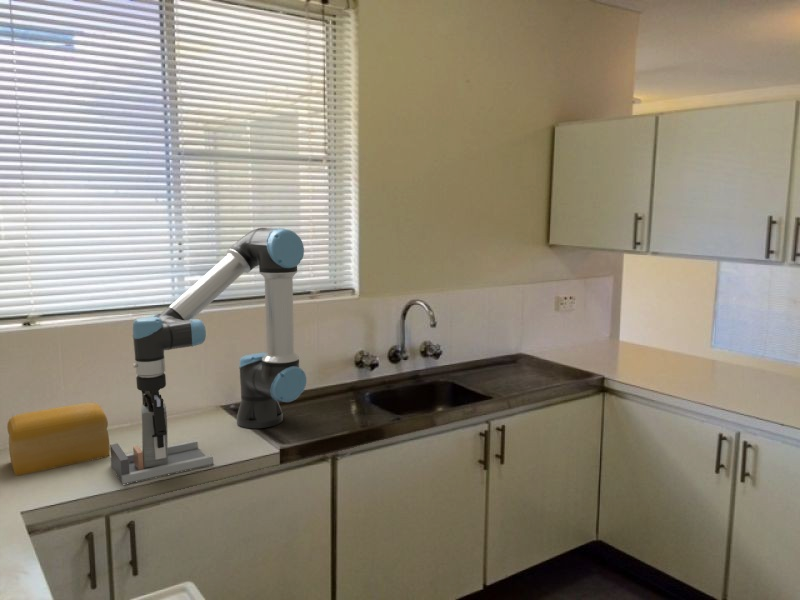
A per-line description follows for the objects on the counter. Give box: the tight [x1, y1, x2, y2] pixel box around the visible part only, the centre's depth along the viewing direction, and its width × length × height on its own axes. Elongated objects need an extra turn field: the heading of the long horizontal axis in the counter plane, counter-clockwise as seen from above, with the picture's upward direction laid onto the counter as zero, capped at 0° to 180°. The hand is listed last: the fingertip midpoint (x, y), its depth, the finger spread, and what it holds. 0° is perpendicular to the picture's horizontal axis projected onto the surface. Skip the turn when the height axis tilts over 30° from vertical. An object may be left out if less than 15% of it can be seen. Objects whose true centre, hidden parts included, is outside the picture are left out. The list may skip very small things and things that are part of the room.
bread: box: [6, 402, 111, 476], centre depth 192 cm, size 24×13×15 cm, turn 125°
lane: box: [109, 439, 215, 485], centre depth 187 cm, size 24×16×6 cm, turn 124°
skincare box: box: [141, 402, 169, 468], centre depth 185 cm, size 8×7×16 cm
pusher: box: [132, 445, 144, 471], centre depth 183 cm, size 1×6×5 cm, turn 34°
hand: (156, 452), depth 186 cm, fingers closed on skincare box, 9 cm apart
